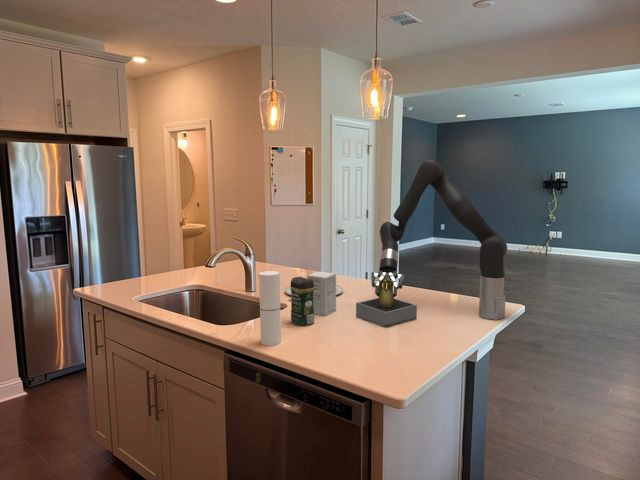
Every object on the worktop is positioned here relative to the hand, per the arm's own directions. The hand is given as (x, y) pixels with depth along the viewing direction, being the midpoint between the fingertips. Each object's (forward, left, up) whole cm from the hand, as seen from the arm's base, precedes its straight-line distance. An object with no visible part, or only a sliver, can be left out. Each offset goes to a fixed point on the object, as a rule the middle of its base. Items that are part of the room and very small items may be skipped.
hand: (385, 295), depth 182 cm
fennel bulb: (+1, -1, -6) cm, 6 cm away
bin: (+1, -1, -10) cm, 10 cm away
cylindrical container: (+6, +51, -10) cm, 52 cm away
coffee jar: (+17, +30, -10) cm, 36 cm away
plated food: (+54, -2, -10) cm, 55 cm away
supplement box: (+24, +15, -10) cm, 30 cm away
